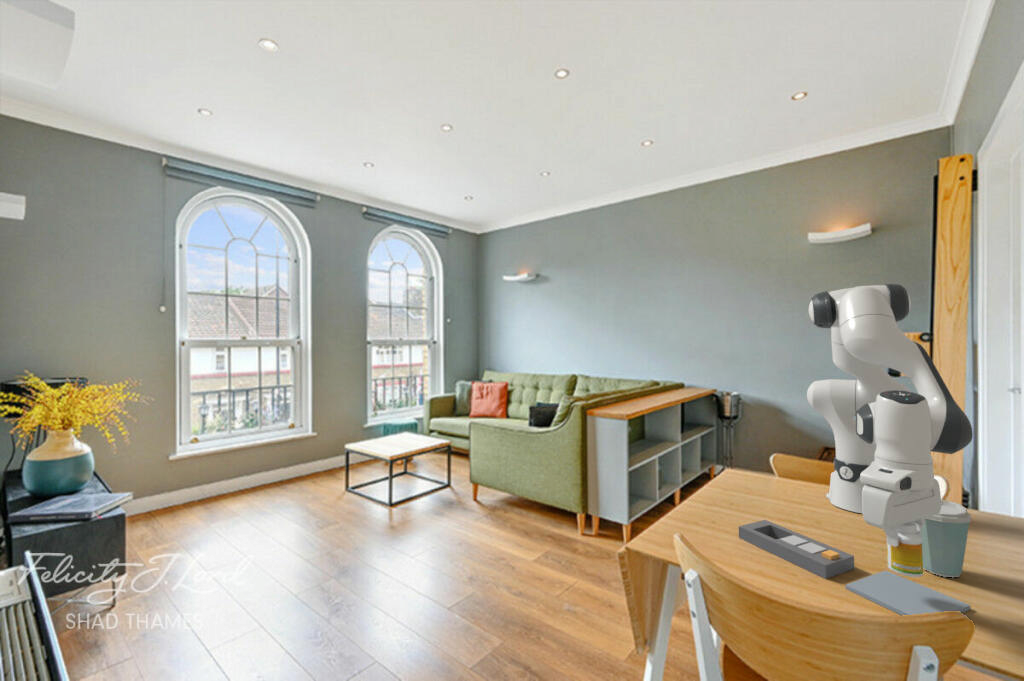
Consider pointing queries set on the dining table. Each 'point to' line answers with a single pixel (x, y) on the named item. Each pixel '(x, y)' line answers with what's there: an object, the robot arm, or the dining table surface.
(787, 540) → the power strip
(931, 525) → the disposable coffee cup
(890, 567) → the supplement bottle
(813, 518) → the dining table surface
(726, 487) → the dining table surface
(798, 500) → the dining table surface
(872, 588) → the mat
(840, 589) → the dining table surface
